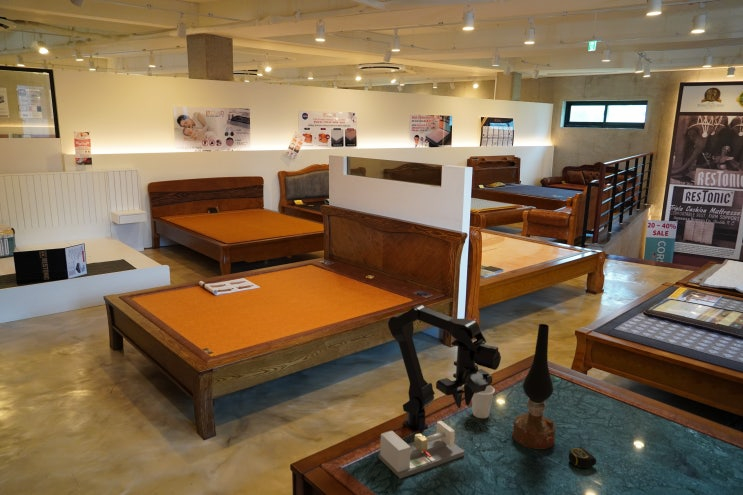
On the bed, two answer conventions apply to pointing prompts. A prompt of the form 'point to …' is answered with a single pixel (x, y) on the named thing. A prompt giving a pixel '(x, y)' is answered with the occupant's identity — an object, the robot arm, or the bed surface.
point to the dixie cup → (482, 402)
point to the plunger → (443, 434)
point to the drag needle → (421, 443)
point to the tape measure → (581, 458)
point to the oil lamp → (536, 400)
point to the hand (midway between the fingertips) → (463, 406)
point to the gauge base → (414, 454)
